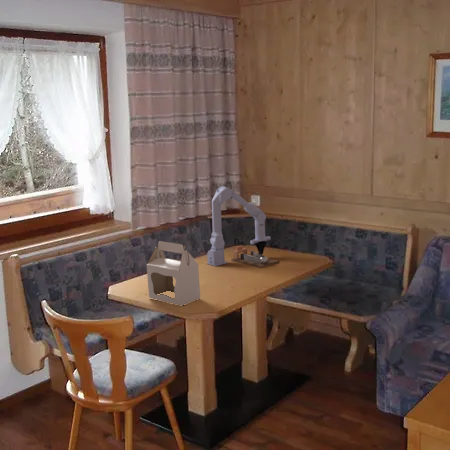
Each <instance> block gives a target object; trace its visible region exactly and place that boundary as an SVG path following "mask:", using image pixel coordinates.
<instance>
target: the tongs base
mask: <svg viewBox="0 0 450 450" xmlns="http://www.w3.org/2000/svg"><path fill="white" fill-rule="evenodd" d="M239 254H240V256H241V259H242V260H246V261H250V262H254V263H258V264H267V258H268V256H265V255H263V256H262V257H256V256H251V255H248V253H247V254H243V252H241V253H239Z"/></svg>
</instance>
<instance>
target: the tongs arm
mask: <svg viewBox="0 0 450 450" xmlns="http://www.w3.org/2000/svg"><path fill="white" fill-rule="evenodd" d="M250 254H251V256H256V257H262V256H264V255H263V254H262V255H261V254H259V252H257V251H254V250H252V251H250Z"/></svg>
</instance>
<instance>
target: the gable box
mask: <svg viewBox="0 0 450 450" xmlns="http://www.w3.org/2000/svg"><path fill="white" fill-rule="evenodd" d="M186 248H187V245H184V244H183V243H177V242H171V241H165V240H158V245H157V246H155V247H154V250H153V252H152V253H151V256H150V257H149V259H148V261H147V262H146V272H147V275H146V276H147V289H148V298H149V297H150V298H153V299H157V300H161V301H164V302H168V303H173V304H177V305H184V304H187V303H189V302H192V301H194V300H197V299H200V300H201V287H200V285H201V284H200V273H199V272H200V271H199V264H198V262H197V261H196V260H195V258H194V257H193V255H191V253H190V252H189V251H188V250H186ZM164 252H169V253H174V254H180V255H181V257H180V260H178V259H172V258H167V257H166V256H165V253H164ZM174 279H175V284H174ZM166 291H171V292H174V293H175V298H171V297H169V296H167V295H164V294H160V293H163V292H166ZM157 294H160V295H157ZM197 301H198V300H197ZM192 303H193V302H192ZM187 305H188V304H187Z"/></svg>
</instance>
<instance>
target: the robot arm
mask: <svg viewBox="0 0 450 450" xmlns="http://www.w3.org/2000/svg"><path fill="white" fill-rule="evenodd" d="M230 199H231V200H234V201H236V202H237V203H239V204H240V205H241V206H243V209H244V211H245V212H246V213H247V214H249V215H250V216H251V217H253V219H254V229H255V230H254V233H255V234H254V235H255V236H254V237H255V238H253V239H251V240H249V244H250V245H255V247H256V249H257V253H259V254H261V255H263V254H264V251H265V247H266V246H267V241H271V236H269V235H267V236H266V225H265V224H266V222H265V220H266V219H267V216H266V213H265V212H263V211H262V210H261V208H259V207H257V206H256V205H255V203H254V202H250V201H249V202H248V201H246V200H245V199H244V198H243V197H242V196H241V195H240V194H238V192H236V191H234V190H232V189H231V188H229V187H227V186H223V185H222V186H220V187H218V188H217V189H216V190H215V193H214V196H213V197H212V199H211V218H212V220H211V221H212V223H211V224H212V232H211V237H210V238H209V242H210V245H211V247H210V250H208V251H207V252H206V253H207V258H206V259H207V263H206V264H207V265H210V266H213V267H218V266H221V265H225V264H228V263H229V261H225V245H226V242H225V240H224V235H223V231H222V230H223V229H222V204H223V203H224V202H226V201H228V200H230Z"/></svg>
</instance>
